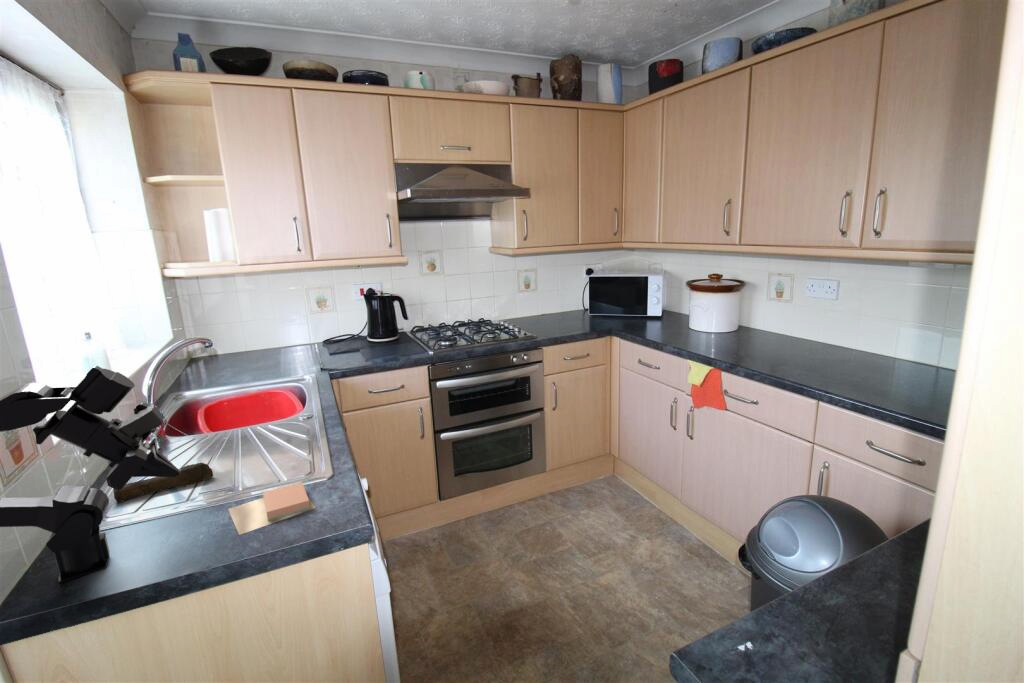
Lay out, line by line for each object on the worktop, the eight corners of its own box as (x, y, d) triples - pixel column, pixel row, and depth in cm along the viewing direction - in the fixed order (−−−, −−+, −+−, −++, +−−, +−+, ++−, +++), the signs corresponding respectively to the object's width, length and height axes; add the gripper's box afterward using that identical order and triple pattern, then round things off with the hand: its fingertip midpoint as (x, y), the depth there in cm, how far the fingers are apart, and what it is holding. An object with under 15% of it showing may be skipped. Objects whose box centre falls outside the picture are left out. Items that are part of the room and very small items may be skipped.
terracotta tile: (266, 512, 100) (308, 500, 103) (262, 492, 107) (302, 482, 111) (267, 521, 100) (310, 509, 104) (264, 501, 108) (303, 490, 112)
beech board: (240, 540, 96) (239, 534, 96) (228, 514, 105) (228, 509, 105) (316, 512, 105) (315, 507, 104) (300, 490, 114) (299, 486, 114)
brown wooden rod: (114, 506, 110) (110, 487, 109) (117, 498, 114) (113, 480, 112) (213, 483, 119) (210, 465, 118) (213, 476, 123) (210, 459, 122)
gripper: (117, 411, 80) (207, 457, 88) (133, 382, 96) (209, 424, 104) (64, 469, 78) (162, 511, 86) (90, 429, 94) (170, 468, 102)
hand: (178, 474), depth 94 cm, fingers closed
